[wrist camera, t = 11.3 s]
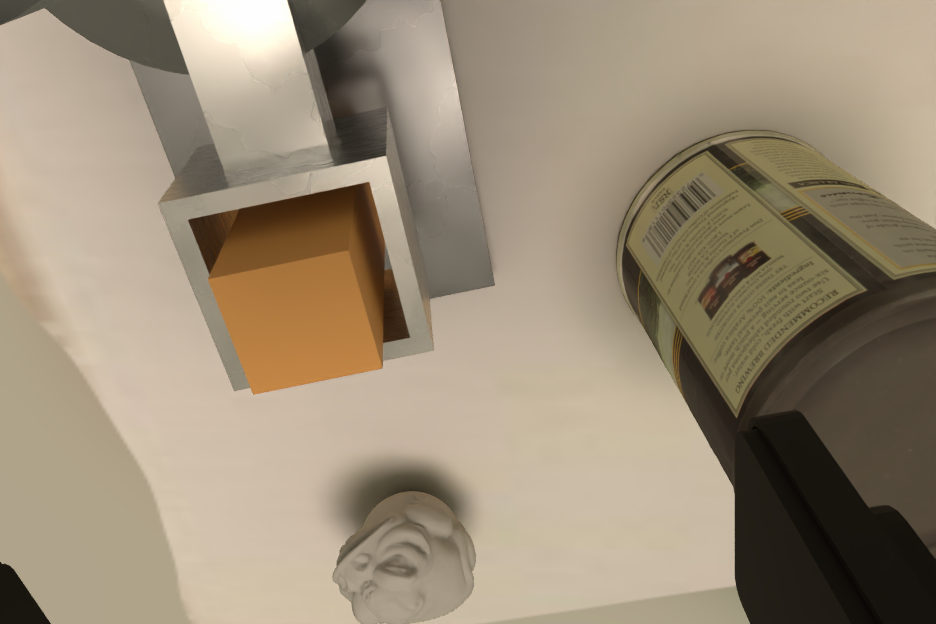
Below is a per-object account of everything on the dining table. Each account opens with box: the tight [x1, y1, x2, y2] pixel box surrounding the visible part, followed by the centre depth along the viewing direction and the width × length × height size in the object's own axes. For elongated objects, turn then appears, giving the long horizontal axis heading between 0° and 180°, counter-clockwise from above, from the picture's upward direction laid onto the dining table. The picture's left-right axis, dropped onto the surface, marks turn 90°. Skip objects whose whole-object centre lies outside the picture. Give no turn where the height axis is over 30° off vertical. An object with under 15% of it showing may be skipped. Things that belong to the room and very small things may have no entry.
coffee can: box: [617, 130, 936, 559], centre depth 28 cm, size 10×10×14 cm
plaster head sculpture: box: [333, 491, 476, 624], centre depth 37 cm, size 6×7×7 cm
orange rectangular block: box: [208, 182, 385, 395], centre depth 25 cm, size 4×4×11 cm
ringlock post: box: [0, 0, 495, 391], centre depth 19 cm, size 22×11×21 cm, turn 11°
